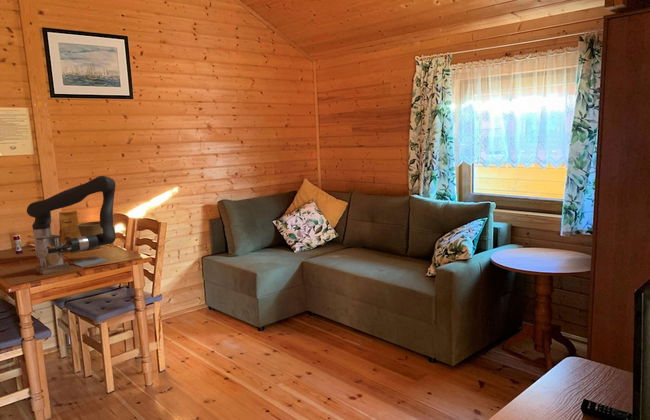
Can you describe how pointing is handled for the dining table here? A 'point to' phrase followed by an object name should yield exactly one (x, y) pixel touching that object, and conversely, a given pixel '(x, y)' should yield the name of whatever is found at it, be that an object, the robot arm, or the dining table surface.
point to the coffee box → (43, 247)
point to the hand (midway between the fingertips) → (45, 250)
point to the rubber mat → (88, 261)
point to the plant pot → (90, 230)
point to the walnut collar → (52, 268)
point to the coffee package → (68, 226)
